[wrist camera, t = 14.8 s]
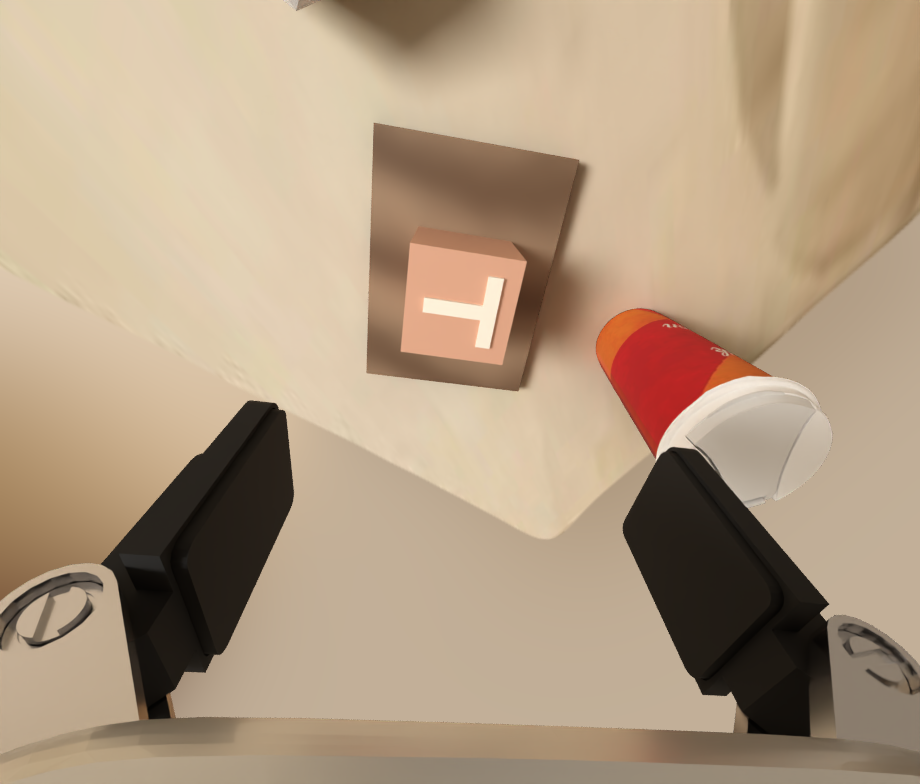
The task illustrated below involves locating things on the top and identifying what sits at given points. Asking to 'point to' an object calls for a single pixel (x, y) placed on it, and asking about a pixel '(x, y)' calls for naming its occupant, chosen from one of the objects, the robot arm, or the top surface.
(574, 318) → the top surface
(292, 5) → the die
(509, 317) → the lettered cube
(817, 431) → the paper cup
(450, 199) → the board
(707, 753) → the robot arm
